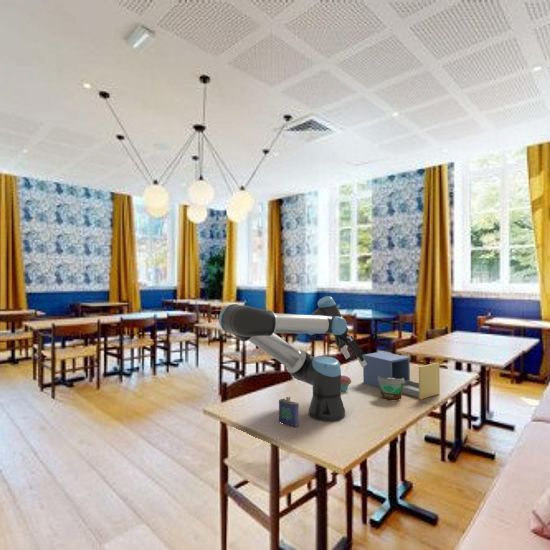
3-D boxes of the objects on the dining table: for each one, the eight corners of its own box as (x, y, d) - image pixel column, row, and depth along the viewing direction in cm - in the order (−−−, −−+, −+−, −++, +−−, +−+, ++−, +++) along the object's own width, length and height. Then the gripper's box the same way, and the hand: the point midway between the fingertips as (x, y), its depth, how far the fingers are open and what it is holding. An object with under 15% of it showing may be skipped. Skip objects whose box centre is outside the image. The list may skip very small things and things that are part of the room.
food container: (377, 400, 175) (377, 378, 175) (377, 396, 181) (377, 375, 181) (405, 402, 172) (405, 380, 172) (404, 398, 178) (404, 377, 178)
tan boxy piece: (420, 399, 175) (420, 367, 175) (390, 390, 190) (390, 360, 190) (439, 393, 184) (439, 362, 184) (409, 385, 198) (409, 356, 198)
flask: (300, 426, 146) (299, 398, 146) (295, 428, 143) (295, 400, 144) (281, 420, 152) (280, 393, 152) (276, 422, 149) (276, 395, 149)
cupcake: (331, 390, 190) (331, 367, 190) (337, 386, 198) (337, 363, 198) (348, 393, 186) (348, 368, 186) (353, 388, 194) (353, 365, 194)
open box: (390, 390, 190) (390, 360, 190) (363, 382, 205) (363, 354, 205) (409, 385, 198) (409, 357, 198) (382, 378, 213) (381, 351, 213)
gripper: (359, 327, 168) (377, 364, 173) (330, 316, 191) (347, 350, 196) (346, 336, 165) (365, 374, 171) (318, 325, 188) (336, 358, 194)
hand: (356, 361), depth 184 cm, fingers open, 13 cm apart
